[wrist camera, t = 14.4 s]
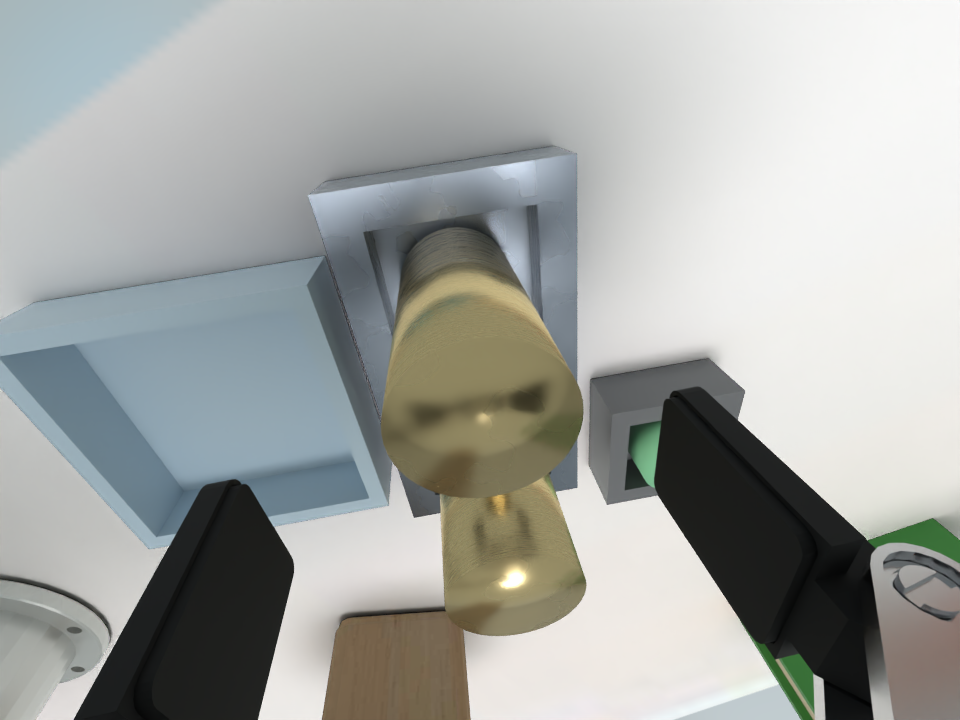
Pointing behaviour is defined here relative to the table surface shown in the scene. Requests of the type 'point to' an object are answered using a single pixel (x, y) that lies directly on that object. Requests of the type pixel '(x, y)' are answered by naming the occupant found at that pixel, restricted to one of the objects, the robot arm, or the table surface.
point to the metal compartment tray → (447, 204)
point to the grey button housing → (643, 418)
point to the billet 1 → (473, 374)
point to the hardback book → (793, 668)
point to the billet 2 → (509, 561)
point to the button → (645, 448)
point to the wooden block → (398, 669)
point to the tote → (203, 394)
